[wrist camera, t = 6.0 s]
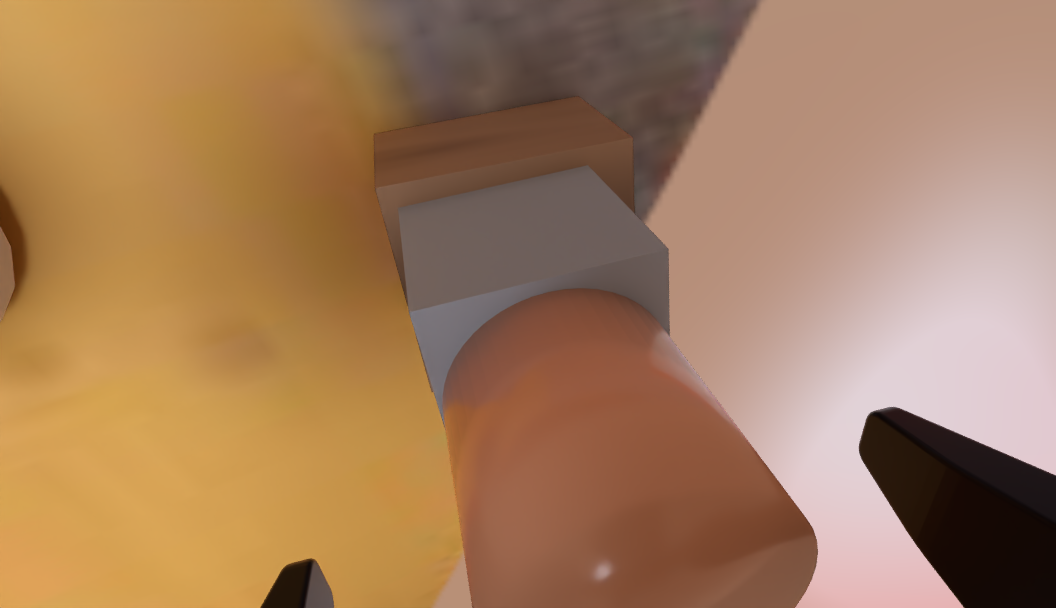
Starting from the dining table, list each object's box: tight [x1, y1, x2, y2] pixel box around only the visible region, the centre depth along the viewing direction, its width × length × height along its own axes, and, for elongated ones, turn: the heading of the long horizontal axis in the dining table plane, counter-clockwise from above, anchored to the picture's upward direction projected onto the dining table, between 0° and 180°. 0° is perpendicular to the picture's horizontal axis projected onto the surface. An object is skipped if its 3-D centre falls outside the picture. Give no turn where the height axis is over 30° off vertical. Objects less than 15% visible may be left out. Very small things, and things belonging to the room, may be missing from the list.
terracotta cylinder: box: [442, 288, 818, 608], centre depth 9 cm, size 4×4×4 cm
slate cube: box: [398, 165, 670, 430], centre depth 13 cm, size 4×4×4 cm
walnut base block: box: [374, 96, 635, 392], centre depth 17 cm, size 6×6×4 cm
